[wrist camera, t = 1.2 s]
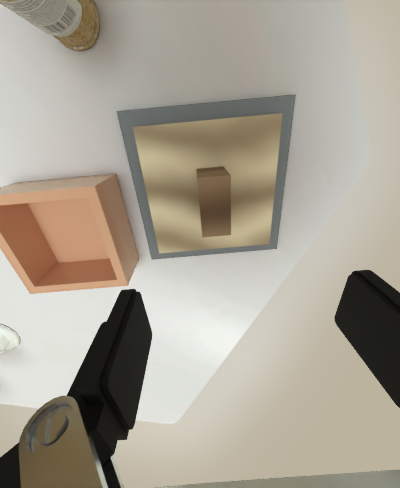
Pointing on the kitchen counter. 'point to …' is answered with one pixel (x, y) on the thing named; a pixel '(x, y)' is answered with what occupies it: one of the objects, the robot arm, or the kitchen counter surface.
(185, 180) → the lid
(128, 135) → the mat
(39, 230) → the open wooden tray
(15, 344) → the candle
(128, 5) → the kitchen counter surface
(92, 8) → the sprinkles bottle
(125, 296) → the robot arm
